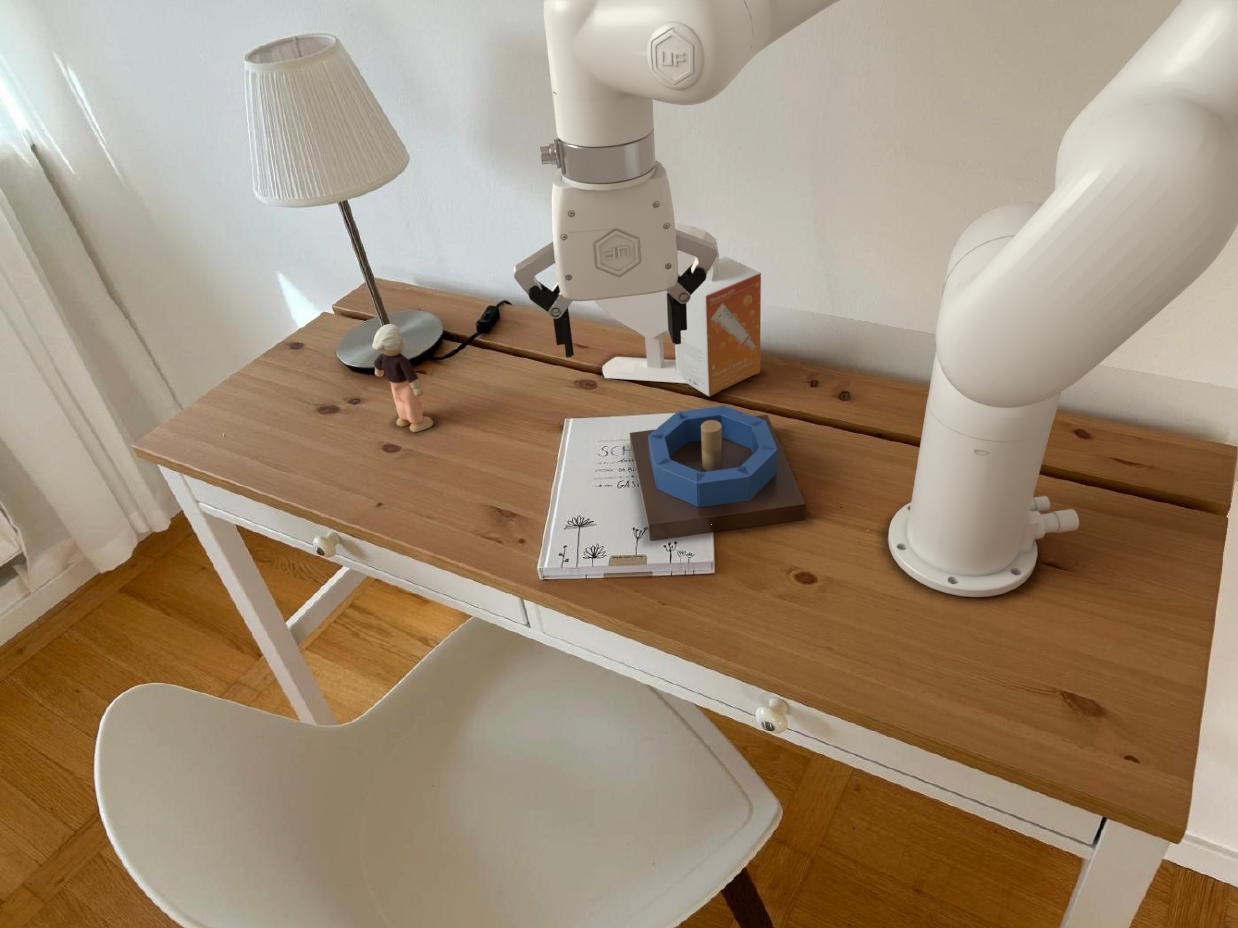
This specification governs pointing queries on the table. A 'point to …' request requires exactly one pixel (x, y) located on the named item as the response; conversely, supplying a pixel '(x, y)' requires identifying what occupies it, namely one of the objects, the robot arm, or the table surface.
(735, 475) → the ring
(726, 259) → the small box
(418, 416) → the grandmother figurine
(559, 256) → the robot arm
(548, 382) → the table surface
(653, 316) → the heart sculpture
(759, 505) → the platform
